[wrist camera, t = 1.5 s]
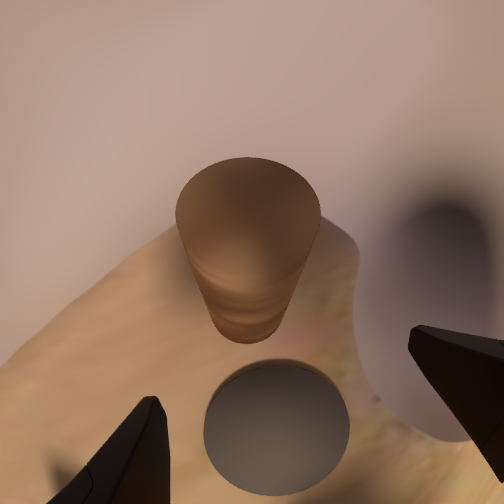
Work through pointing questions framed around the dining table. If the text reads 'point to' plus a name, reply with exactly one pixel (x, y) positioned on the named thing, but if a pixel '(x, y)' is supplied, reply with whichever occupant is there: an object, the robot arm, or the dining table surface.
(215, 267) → the brown cylinder
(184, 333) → the dining table surface
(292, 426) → the coaster
